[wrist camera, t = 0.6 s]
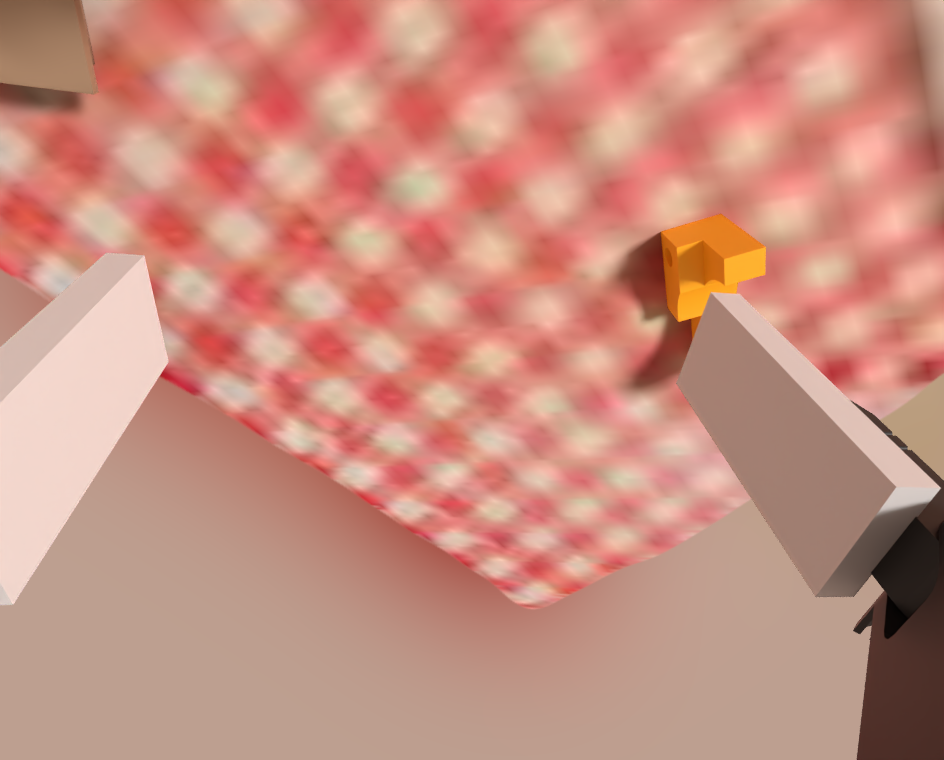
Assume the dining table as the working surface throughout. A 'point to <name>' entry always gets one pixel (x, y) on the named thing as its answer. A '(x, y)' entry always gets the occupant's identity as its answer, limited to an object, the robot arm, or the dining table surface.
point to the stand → (46, 45)
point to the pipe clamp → (707, 264)
